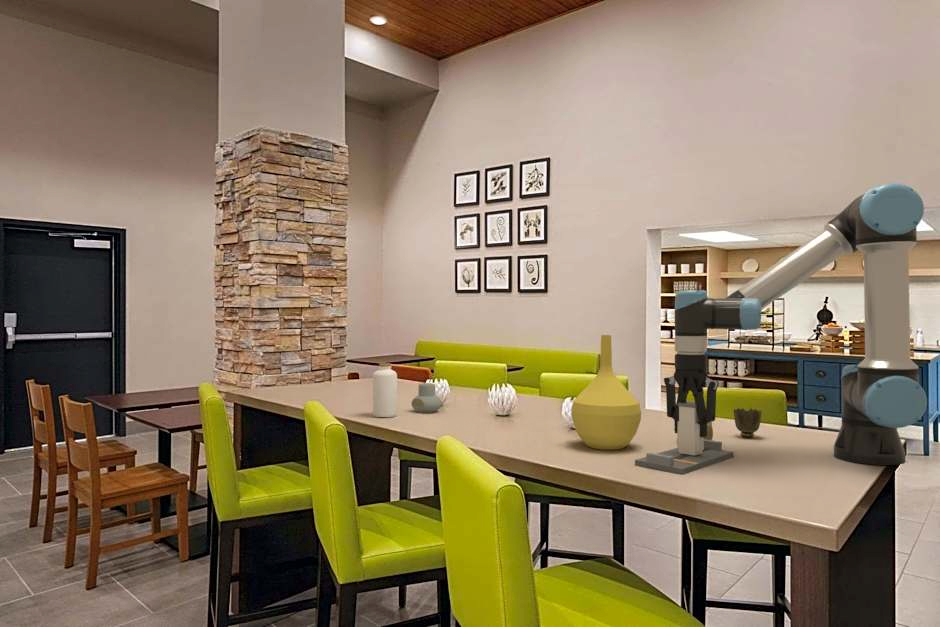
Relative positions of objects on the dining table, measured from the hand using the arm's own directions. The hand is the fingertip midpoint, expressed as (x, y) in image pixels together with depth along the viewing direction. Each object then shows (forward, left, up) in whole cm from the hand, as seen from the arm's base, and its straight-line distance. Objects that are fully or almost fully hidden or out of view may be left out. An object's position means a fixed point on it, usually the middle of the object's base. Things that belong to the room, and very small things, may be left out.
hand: (690, 448), depth 159 cm
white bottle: (+103, +16, -3) cm, 104 cm away
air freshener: (+101, -1, -3) cm, 101 cm away
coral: (+9, -20, -3) cm, 22 cm away
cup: (+2, -38, -3) cm, 38 cm away
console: (0, +2, -3) cm, 4 cm away
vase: (+23, +2, -3) cm, 23 cm away
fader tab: (0, 0, -1) cm, 1 cm away
